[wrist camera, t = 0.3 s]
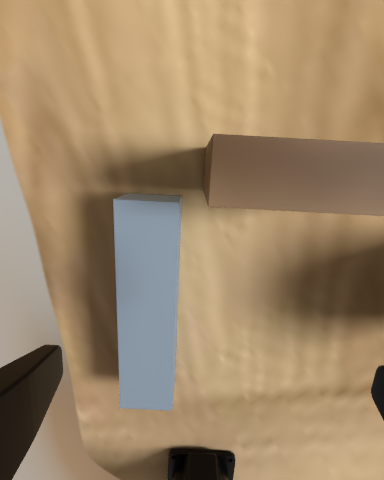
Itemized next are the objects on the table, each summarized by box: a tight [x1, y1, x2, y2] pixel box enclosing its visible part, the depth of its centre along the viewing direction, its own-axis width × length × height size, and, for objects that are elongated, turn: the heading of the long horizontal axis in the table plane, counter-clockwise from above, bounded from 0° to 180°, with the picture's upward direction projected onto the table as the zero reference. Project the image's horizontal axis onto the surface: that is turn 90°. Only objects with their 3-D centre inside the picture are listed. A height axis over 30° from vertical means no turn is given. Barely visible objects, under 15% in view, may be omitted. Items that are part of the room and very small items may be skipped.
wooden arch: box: [203, 134, 384, 216], centre depth 15 cm, size 3×9×8 cm, turn 87°
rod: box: [113, 193, 182, 410], centre depth 20 cm, size 16×4×4 cm, turn 177°
